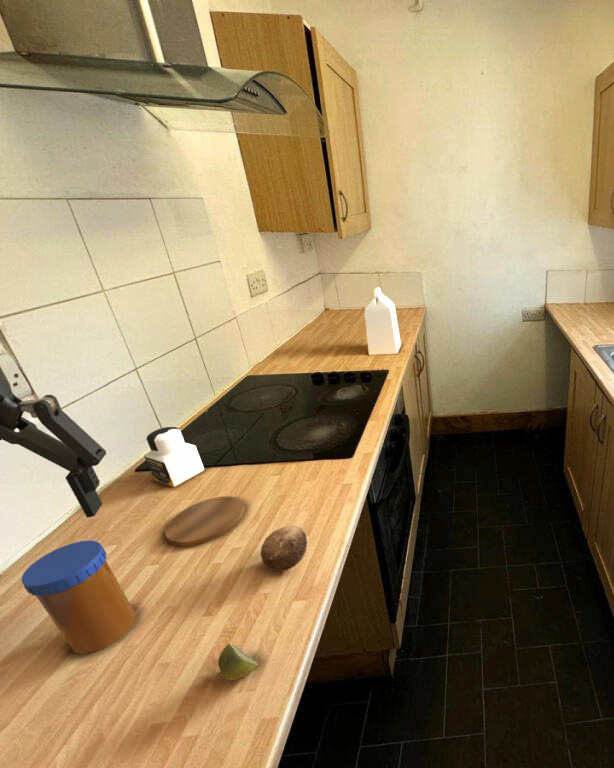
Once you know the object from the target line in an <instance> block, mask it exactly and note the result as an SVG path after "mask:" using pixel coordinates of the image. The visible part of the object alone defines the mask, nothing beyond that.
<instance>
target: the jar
mask: <svg viewBox="0 0 614 768" xmlns="http://www.w3.org/2000/svg"><path fill="white" fill-rule="evenodd" d="M35 597H36V599H37V600H38V601H39V603H40V604H41V605H42V608H43V609H44V610H45V611H46V614H48V616H49V617H50V619H51V620H52V622H53V623H54V624H55V626H56V628H57V629H58V630H59V632H60V634H61V635H62V636H63V638H64V639H65V641H66V642H67V644H68V645H69V646H70V648H71V650H72V651H73V652H74V653H77V654H80V655H86V654H87V655H88V654H91V653H96V652H98V651H100V650H103V649H105V648H107V647H109V646H110V645H112V644H115V642H117V641H118V640H119V639H121V638H122V637H123V636H124V635H125V634H126V633H128V632H129V631H130V629H131V628H132V627H133V625H134V623H135V621H136V617H137V615H136V614H137V613H136V612H135V610H134V608H133V606H132V604H131V602H129V598H128V597H127V595H126V594H125V592H124V590H123V589H122V586H121V585H120V583H119V581H118V579H117V578H116V575H115V574H114V572H113V570H112V568H111V567H110V565H109V563H108V561H107V559H106V560H105V562H104V564H103V565H102V567H101V568H100V569H99V570H98V571H97V572H95V573H94V574H93V575H92V576H90V577H89V578H88V579H86V580H84V581H83V582H81V583H79V584H77V585H76V586H73V587H71V588H69V589H67V590H64V591H62V592H59V593H55V594H51V595H46V596H35Z"/></svg>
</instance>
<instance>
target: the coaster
mask: <svg viewBox="0 0 614 768" xmlns="http://www.w3.org/2000/svg"><path fill="white" fill-rule="evenodd" d="M244 513H245V507H244V503H243V502H242V500H241V499H239V498H237V497H234V496H217V497H212V498H208V499H204V500H202V501H200V502H196V503H194V504H192V505H190V506H188V507H186V508H184V509H183V510H182V511H180V512H179V513H178V514H176V515H175V516H174V517H173V518H171V520H170V521H169V522H168V524H167V525H166V527H165V531H164V535H165V537H166V539H167V541H168V542H169V543H170V544H172V545H174V546H178V547H179V546H180V547H190V546H191V547H192V546H195V545H201V544H203V543H207V542H210V541H212V540H215V539H216V538H219V537H220V536H222V535H225V534H226V533H227V532H228V531H231V529H233V528H234V527H235V526H236V525H237V524H238V523H239V522H240V521H241V520H242V518H243V516H244Z"/></svg>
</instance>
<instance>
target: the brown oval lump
mask: <svg viewBox="0 0 614 768" xmlns="http://www.w3.org/2000/svg"><path fill="white" fill-rule="evenodd" d="M307 546H308V539H307V535H306V533H305V531H304V530H303V529H302V527H300V526H297V525H294V524H293V525H291V524H290V525H287V526H283V527H280V528H278V529H275V530H274V531H273V532H272V533H270V534H269V535H268V536H267V537H265V539H264V541H263V543H262V545H261V547H260V558H261V560H262V563H263V564H264V565H265V567H267V568H268V569H270V570H273V571H277V572H286V571H289V570H291V569H292V568H295V567H296V566H297V565H298V564H299V563H300V562H301V561H302V560H303V558H304V556H305V553H306V551H307Z"/></svg>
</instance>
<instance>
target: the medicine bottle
mask: <svg viewBox="0 0 614 768" xmlns="http://www.w3.org/2000/svg"><path fill="white" fill-rule="evenodd" d="M146 442H147V444H148V447H149V449H150V451H149V452H146V453H145V454H144V455H143V457H144V459H145V461H146V464H147V466H148V469H149V470H150V473H151V475H152V477H153V479H154V481H157V482H159V483H161V484H165V485H167V486H170V487H172V488H174V487H177V486H178V485H181V484H182V483H184V482H186V481H187V480H190V479H191V478H193V477H195V476H197V475H198V474H200V473H202V472H204V471H205V467H204V464H203V462H202V458H201V456H200V454H199V451H198V448H197V446H196V445H195V444H191V443H188V442H185V439H184V436H183V434H182V430H181V429H180V428H179V427H176V426H165V427H162V428H161V427H160V428H157V429H156V430H154V431H152V432H150V433H149V434H148V435H147V436H146Z"/></svg>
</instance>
